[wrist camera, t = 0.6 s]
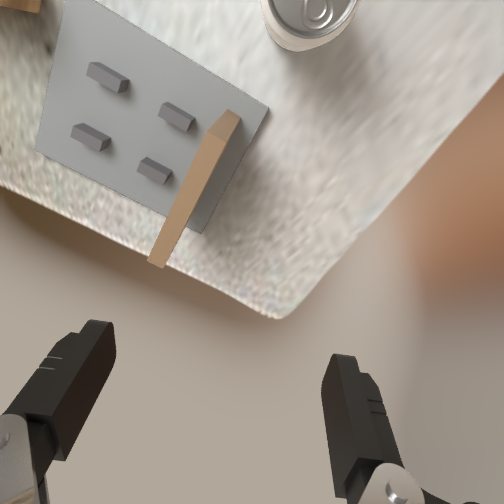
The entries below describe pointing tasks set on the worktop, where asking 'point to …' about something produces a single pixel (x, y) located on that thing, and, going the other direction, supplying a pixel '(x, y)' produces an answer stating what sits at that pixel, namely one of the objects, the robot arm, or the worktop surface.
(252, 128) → the grey and brown stand
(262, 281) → the worktop surface
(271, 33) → the can
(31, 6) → the long tan wooden block
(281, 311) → the worktop surface
